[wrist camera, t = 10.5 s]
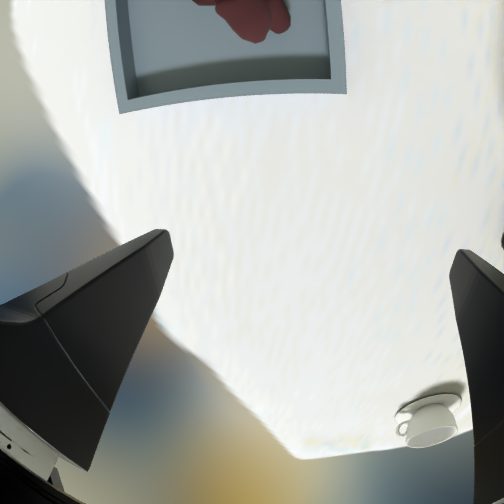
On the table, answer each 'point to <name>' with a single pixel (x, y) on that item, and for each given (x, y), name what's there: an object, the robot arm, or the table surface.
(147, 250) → the robot arm
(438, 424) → the teacup
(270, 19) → the icecream
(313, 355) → the table surface
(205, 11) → the tray
